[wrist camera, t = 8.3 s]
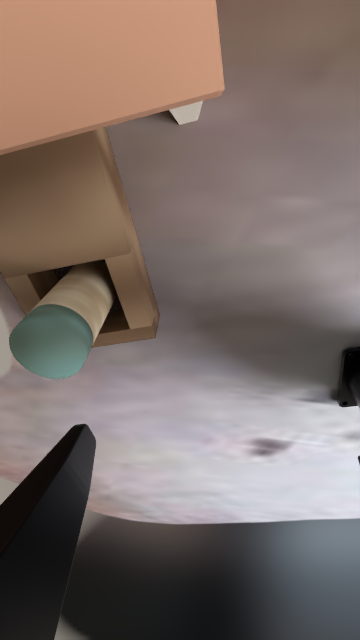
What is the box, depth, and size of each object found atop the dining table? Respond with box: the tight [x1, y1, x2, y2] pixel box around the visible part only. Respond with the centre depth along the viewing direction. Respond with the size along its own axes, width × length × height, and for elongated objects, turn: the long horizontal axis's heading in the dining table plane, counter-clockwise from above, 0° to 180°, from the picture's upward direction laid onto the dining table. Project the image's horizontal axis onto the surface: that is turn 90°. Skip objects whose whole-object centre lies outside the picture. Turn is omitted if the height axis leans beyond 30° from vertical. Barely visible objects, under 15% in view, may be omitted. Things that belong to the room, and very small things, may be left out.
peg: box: [9, 260, 117, 379], centre depth 17 cm, size 4×4×8 cm
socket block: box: [0, 127, 160, 348], centre depth 17 cm, size 16×8×3 cm, turn 12°
